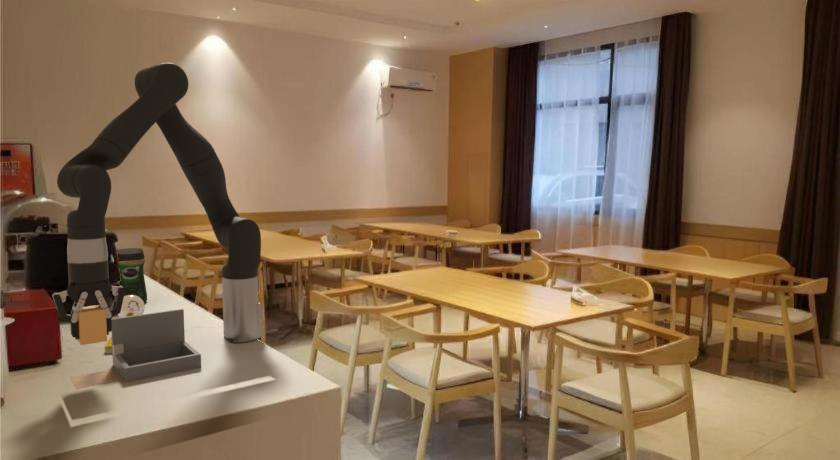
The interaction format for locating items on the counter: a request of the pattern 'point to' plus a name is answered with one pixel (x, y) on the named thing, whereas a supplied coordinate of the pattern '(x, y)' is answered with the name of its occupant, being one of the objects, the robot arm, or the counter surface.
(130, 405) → the counter surface
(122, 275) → the coffee jar
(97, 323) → the block
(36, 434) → the counter surface
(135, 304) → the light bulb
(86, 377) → the pad
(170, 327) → the case
